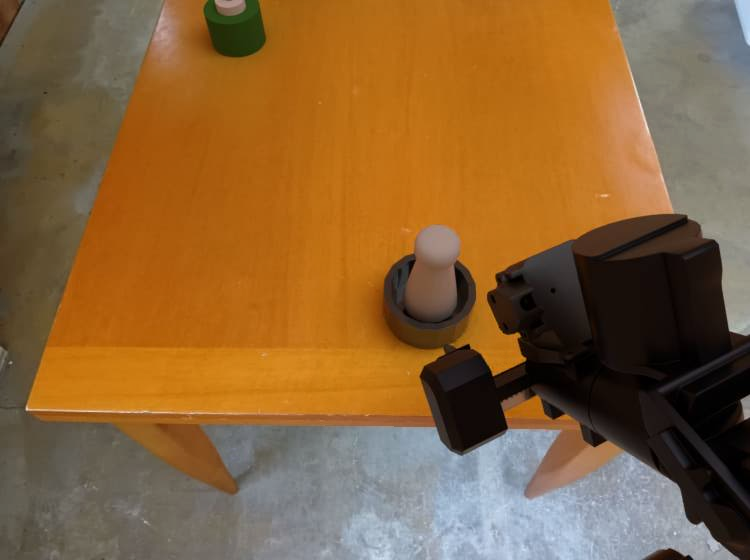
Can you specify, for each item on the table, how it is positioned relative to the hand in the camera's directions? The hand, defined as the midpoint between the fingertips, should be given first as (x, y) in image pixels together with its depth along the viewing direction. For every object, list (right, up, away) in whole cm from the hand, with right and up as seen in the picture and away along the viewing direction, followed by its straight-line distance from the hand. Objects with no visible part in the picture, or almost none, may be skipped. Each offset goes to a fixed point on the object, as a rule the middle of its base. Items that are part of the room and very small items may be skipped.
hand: (494, 328), depth 47 cm
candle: (-31, +41, +42) cm, 66 cm away
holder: (-4, +1, +16) cm, 16 cm away
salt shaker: (-4, +1, +15) cm, 16 cm away
